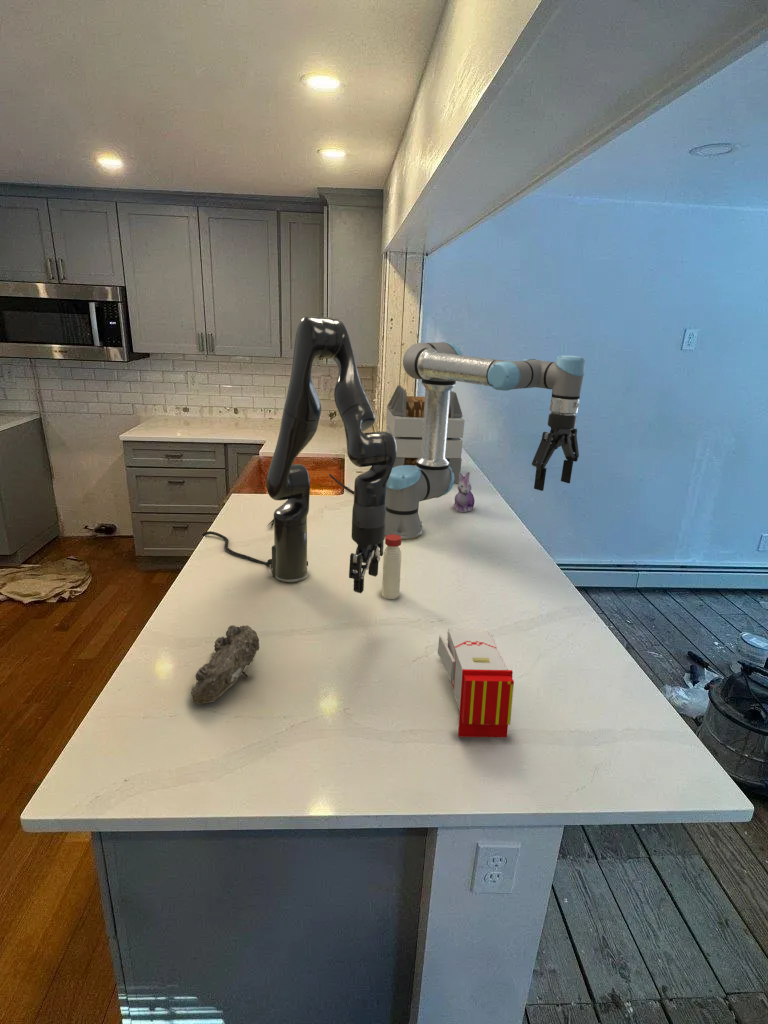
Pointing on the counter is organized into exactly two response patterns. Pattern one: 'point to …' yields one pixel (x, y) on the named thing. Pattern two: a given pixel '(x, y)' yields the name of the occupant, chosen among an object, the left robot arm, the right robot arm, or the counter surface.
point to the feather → (272, 523)
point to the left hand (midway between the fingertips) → (365, 583)
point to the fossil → (225, 663)
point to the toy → (478, 682)
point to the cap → (393, 540)
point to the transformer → (408, 429)
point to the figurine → (464, 495)
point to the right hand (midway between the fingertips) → (552, 485)
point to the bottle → (391, 572)
